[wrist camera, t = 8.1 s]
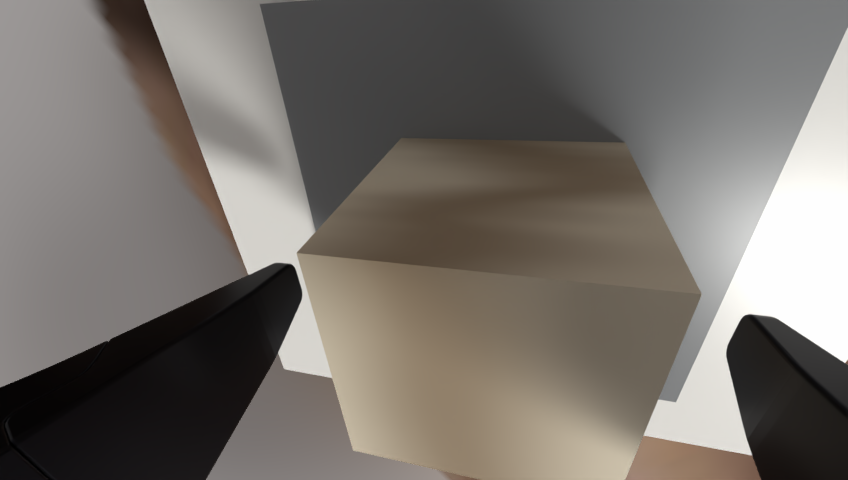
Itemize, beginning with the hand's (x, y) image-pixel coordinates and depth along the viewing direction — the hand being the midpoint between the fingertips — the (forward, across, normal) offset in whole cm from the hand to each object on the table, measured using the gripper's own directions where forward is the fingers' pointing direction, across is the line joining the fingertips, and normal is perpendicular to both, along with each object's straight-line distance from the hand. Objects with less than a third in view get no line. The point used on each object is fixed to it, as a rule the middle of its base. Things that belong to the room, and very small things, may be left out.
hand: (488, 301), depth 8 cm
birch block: (+3, 0, 0) cm, 3 cm away
